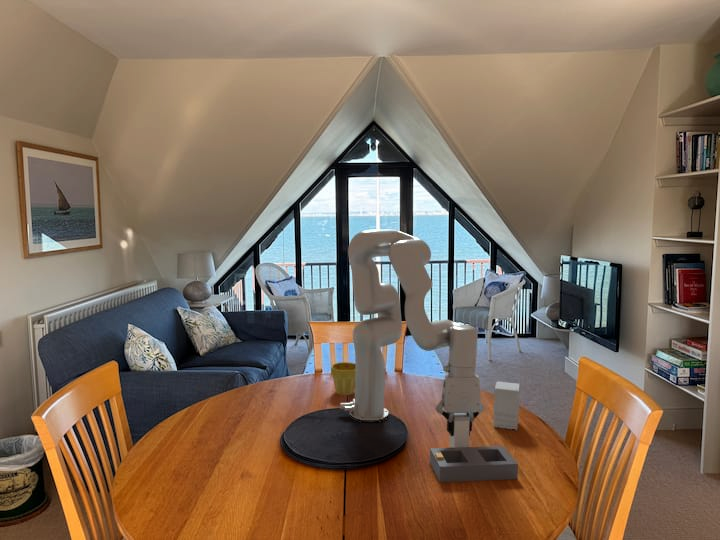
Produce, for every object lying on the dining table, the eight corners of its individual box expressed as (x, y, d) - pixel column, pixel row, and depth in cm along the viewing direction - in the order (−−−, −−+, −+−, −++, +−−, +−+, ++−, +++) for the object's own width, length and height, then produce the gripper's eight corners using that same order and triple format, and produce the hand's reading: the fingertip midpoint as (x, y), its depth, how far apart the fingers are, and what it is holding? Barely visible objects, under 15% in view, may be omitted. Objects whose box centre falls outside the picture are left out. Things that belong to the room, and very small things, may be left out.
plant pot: (359, 397, 188) (359, 370, 186) (329, 396, 188) (330, 370, 187) (359, 387, 198) (360, 362, 197) (331, 387, 198) (332, 361, 197)
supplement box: (518, 421, 169) (520, 383, 167) (517, 430, 162) (519, 391, 160) (494, 418, 171) (496, 380, 170) (492, 427, 164) (494, 387, 163)
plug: (454, 453, 145) (455, 417, 145) (449, 446, 150) (450, 411, 150) (468, 452, 146) (469, 417, 145) (463, 445, 151) (464, 411, 150)
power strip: (439, 482, 131) (440, 464, 130) (429, 462, 141) (430, 446, 140) (517, 479, 133) (518, 461, 132) (502, 460, 143) (503, 443, 142)
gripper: (435, 375, 141) (433, 440, 143) (496, 374, 143) (492, 438, 145) (428, 366, 149) (426, 429, 151) (486, 365, 151) (483, 427, 153)
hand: (459, 433), depth 148 cm, fingers closed on plug, 4 cm apart
